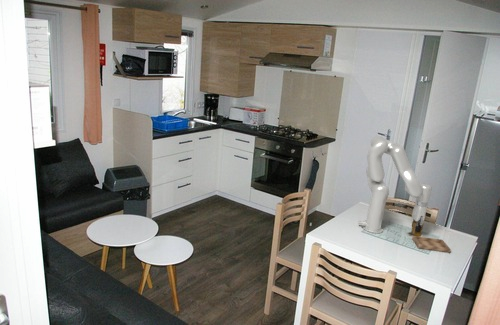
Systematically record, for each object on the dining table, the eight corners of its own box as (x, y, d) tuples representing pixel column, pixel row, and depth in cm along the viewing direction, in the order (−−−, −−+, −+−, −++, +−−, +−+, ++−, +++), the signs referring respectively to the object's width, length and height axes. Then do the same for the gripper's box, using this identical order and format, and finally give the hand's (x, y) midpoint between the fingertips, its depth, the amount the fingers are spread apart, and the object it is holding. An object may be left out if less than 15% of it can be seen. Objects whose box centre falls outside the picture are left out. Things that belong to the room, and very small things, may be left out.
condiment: (423, 236, 252) (427, 218, 249) (415, 238, 247) (419, 220, 244) (413, 231, 258) (417, 214, 255) (405, 233, 253) (409, 216, 250)
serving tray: (418, 248, 233) (419, 244, 232) (412, 239, 245) (412, 235, 244) (449, 252, 231) (450, 249, 231) (441, 243, 244) (442, 239, 243)
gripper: (411, 198, 256) (406, 223, 261) (419, 207, 240) (413, 234, 244) (423, 199, 256) (417, 225, 260) (432, 209, 239) (426, 236, 243)
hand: (415, 229), depth 252 cm, fingers closed on condiment, 6 cm apart
